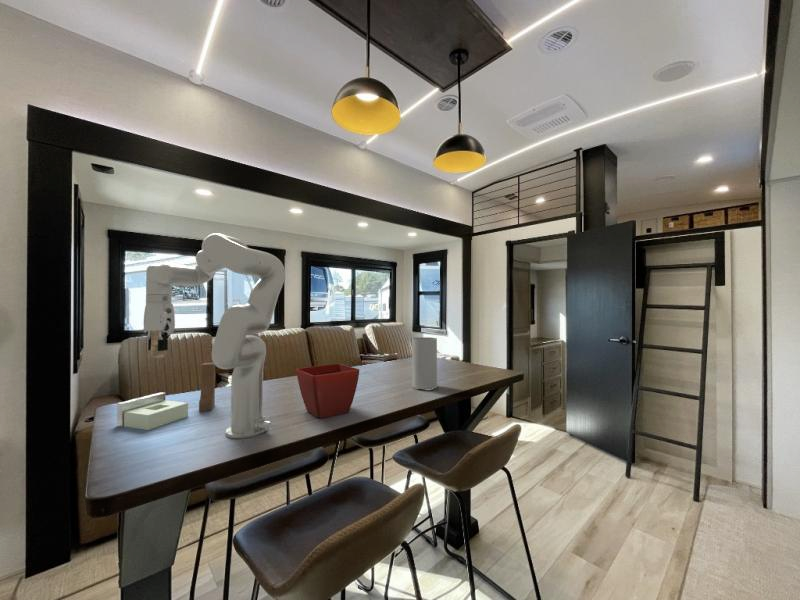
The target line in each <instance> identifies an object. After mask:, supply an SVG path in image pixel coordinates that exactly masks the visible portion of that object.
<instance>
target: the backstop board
mask: <svg viewBox="0 0 800 600" xmlns="http://www.w3.org/2000/svg"><path fill="white" fill-rule="evenodd" d="M162 401H166V392H157V393H153V394H149V395H145V396H141V397H136V398H133V399H132V398H131V399H129V400H126V401H121V402H117V404H116V406H117V411H116V426H117V427H120V426H121V427H123V428H124V412H126V411H130V410H133V409H137V408H140V407H144V406H148V405H151V404H155V403H158V402H162Z"/></svg>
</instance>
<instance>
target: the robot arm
mask: <svg viewBox="0 0 800 600" xmlns="http://www.w3.org/2000/svg"><path fill="white" fill-rule="evenodd" d="M195 262H196V264H197V265H195V266H194V265H193V266H188V265H180V264H173V263H164V264H160V265H149V266H147V267H146V273H145V274H146V275H145V277H146V279H145V306H144V311H143V312H144V314H143V329H142V331H143V333H145V335H146V339H147V340H148V341H147V344H148V345H147V350H148V351H151V330H155V331H159V339H160V340H158V351H164V350H165V351H168V349H169V347H168V346H169V345H168V343H169V342H168V340H169V339H170V336H171V335H172V334H173V333H175V329H176V327H175V326H176V319H175V318H176V317H175V308H174V305H173V303H172V295H173V293H172V292H173V291H172V290H173V288H172V287H173V286H175V287H189V288H191V287H197V286H201V285H203V284H205V283H207V282H208V283H209V282H210V281H211V280H212V279H213V278H214V277H215V275H216V273H217V272H219V271H221V270H224V269H227V270H229V271H231V272H233V273H235V274H238V275H244V276H252V277H257V278H259V280H258V281H256V283H255V284H254V285H253V287H252V289H251V290H250V292H249V293H250V294H249V296H248V300H247V302H246V304H237V305H232V306H230V307H229V308H227V309H226V310H225V312H224V313H222V316H221V318H220V321H219V323H218V327H217V331H216V335H215V337H214V342H213V344H212V349H211V360H212V363H214V364H215V367H217V368H218V369H221V370H230V369H233V371H232V374H231V380H230V381H231V386H230V390H231V391H230V426H229V427H227V428H226V430H225V436H226V437H227V438H230V439H245V438H251V437H255V436H259V435H261V434H262V433H265V432H266V431H268V430H269V428H270V426H272V421H270V420H269V421H267V420H266V415H263V412H264V411H263V406H264V405H263V404H264V402H263V401H264V397H263V395H264V364H265V362H266V361H265V359H266V355H267V347H266V343H265V341H264V340H263V339H262V338H261V337H259V336H257V334H262V333H265V332H266V331H267V330H268V329H269V328H270V325H271V321H272V318H273V315H274V312H275V310H276V305H277V302H278V298H279V295H280V293H281V291H282V288H283V286H284V284H285V283H284V282H285V279H286V271H285V266H284V264H283V262H282V260H280V259H279V258H278V257H277V256H275V255H274V254H272V253H269V252H268V251H267V252H266V251H262V250H258V249H253V248H250V247H248V245H247V244H246V243H245V242H244V241H242V240H241V239H239V238H236V237H233V236H230V235H226V234H223V233H211V234H209V235H207V236H206V237H205V238H204V239H203V241H202V243H201V250H199V251H198V252H197V253H196V255H195ZM163 330H165V331H163ZM164 332H165V333H164ZM163 333H164V334H163Z"/></svg>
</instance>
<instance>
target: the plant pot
mask: <svg viewBox="0 0 800 600" xmlns="http://www.w3.org/2000/svg"><path fill="white" fill-rule="evenodd" d="M295 369H296V370H295V371H296V376H297V381H298V382H297V383H298V387H299V391H300V395H301V398H302V401H303V403H304V406H305V408H306V409H305V410H306V411H307V412H308V413H310V414H311V415H313V416H314V417H316V418H317V419H325V418H328V417H333V416H337V415H341V414H347V413H349V412H350V410H351V408H352V404H353V401H354V399H355V396H356V390H357V387H358V382H359V375H360V369H359V368H357V367H353V366H349V365H346V364H342V363H331V364H324V365H323V364H322V365H314V366H306V367H300V368H299V367H298V368H295Z"/></svg>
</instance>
